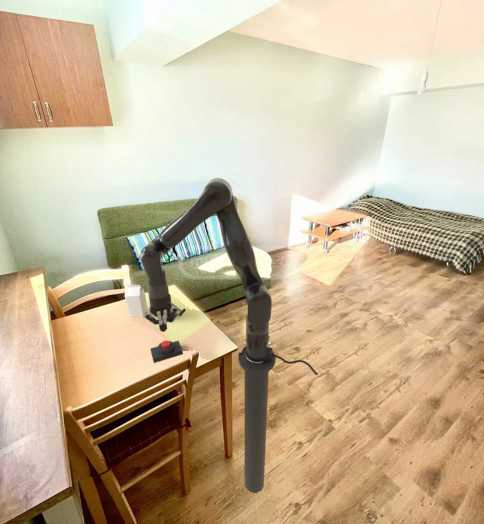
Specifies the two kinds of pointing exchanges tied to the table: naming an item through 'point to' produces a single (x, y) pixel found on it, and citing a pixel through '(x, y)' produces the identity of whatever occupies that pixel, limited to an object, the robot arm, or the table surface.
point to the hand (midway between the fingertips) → (163, 330)
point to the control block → (166, 352)
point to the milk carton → (135, 300)
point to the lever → (179, 310)
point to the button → (165, 344)
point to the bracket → (170, 310)
